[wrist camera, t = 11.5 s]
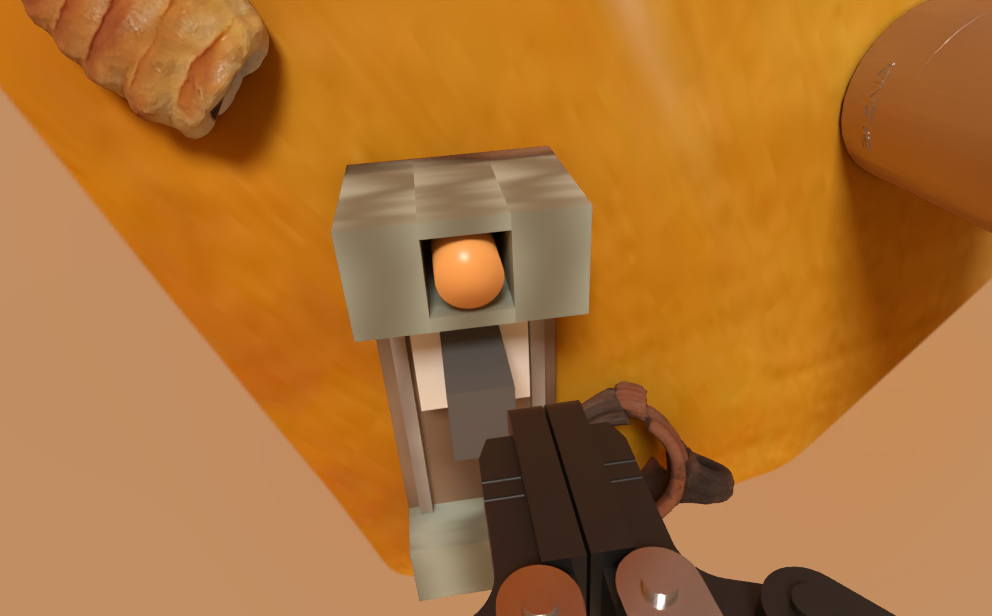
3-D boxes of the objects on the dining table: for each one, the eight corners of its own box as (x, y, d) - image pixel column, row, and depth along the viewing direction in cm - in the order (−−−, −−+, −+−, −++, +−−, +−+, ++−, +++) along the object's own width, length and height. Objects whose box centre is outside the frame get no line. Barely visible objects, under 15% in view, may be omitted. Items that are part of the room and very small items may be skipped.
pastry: (-10, -3, 24) (-74, 5, 21) (60, -162, 22) (1, -182, 19) (213, 142, 28) (189, 167, 25) (290, 19, 26) (275, 29, 23)
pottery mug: (542, 491, 44) (540, 541, 36) (554, 364, 43) (556, 385, 35) (709, 511, 43) (747, 568, 35) (724, 382, 42) (766, 408, 34)
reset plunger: (484, 189, 28) (502, 243, 23) (487, 243, 30) (505, 304, 25) (425, 195, 28) (431, 250, 23) (431, 249, 29) (438, 312, 24)
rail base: (548, 146, 30) (592, 204, 23) (551, 517, 45) (578, 619, 38) (346, 165, 29) (331, 232, 22) (417, 537, 44) (420, 646, 37)
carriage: (520, 284, 32) (548, 363, 26) (523, 374, 35) (549, 463, 29) (406, 297, 31) (408, 381, 25) (420, 388, 34) (424, 481, 28)
